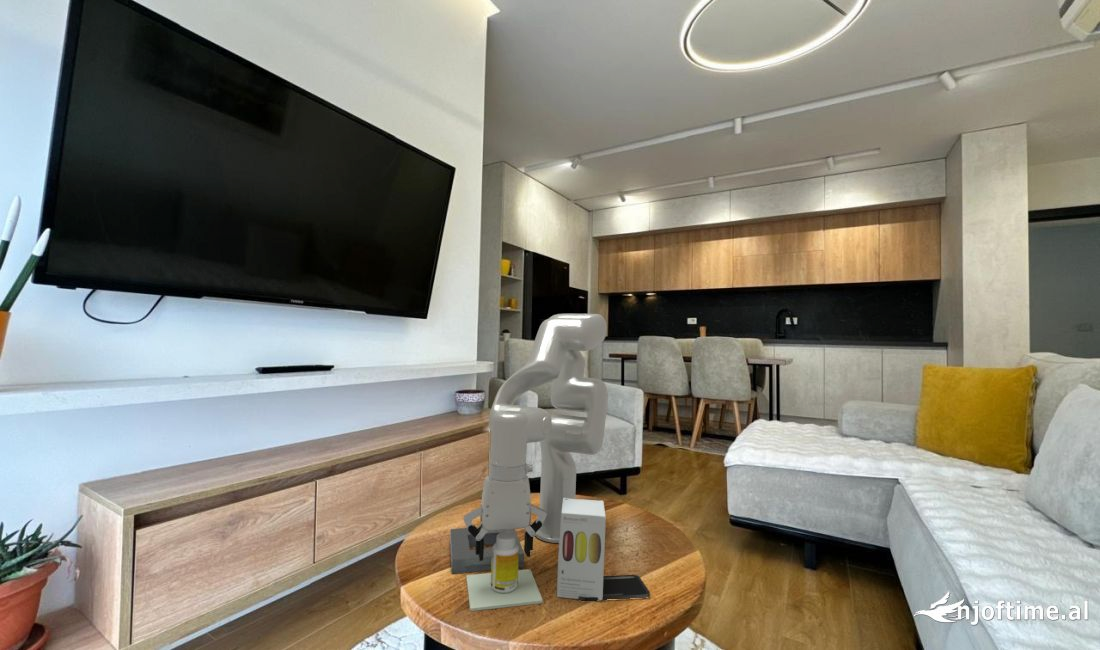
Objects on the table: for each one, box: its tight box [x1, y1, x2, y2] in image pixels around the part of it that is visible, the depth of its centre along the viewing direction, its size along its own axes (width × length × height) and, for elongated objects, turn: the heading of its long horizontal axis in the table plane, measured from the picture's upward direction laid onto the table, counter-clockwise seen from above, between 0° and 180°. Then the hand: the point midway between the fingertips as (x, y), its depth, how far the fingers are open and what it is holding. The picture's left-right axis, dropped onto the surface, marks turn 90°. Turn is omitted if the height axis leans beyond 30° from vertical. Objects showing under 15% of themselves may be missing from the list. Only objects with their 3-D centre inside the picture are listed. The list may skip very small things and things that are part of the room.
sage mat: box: [465, 568, 544, 612], centre depth 88 cm, size 14×12×1 cm
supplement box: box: [556, 498, 607, 600], centre depth 91 cm, size 10×9×17 cm
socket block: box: [449, 526, 526, 575], centre depth 103 cm, size 16×16×3 cm
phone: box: [577, 574, 651, 602], centre depth 90 cm, size 8×1×15 cm
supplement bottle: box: [490, 532, 519, 593], centre depth 89 cm, size 6×6×10 cm
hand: (504, 555), depth 89 cm, fingers open, 9 cm apart
